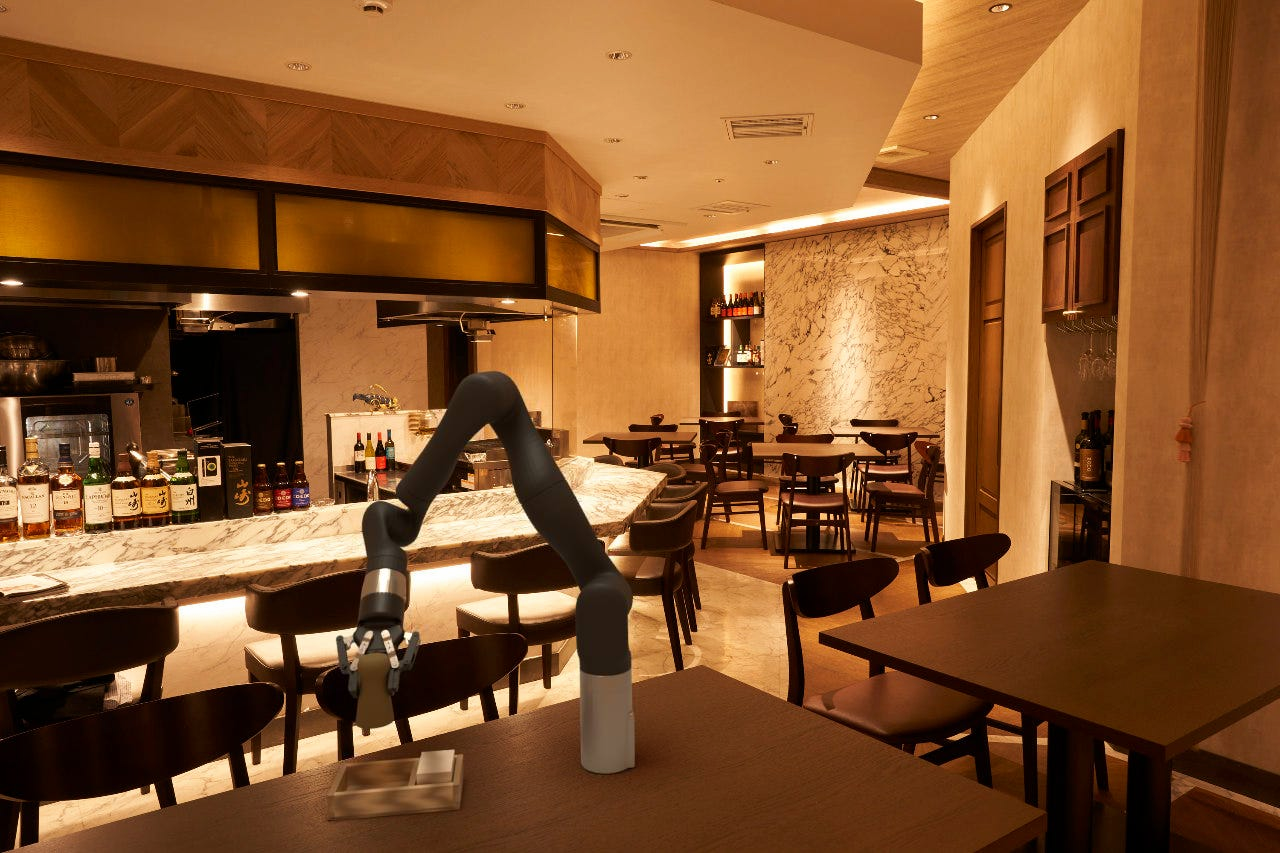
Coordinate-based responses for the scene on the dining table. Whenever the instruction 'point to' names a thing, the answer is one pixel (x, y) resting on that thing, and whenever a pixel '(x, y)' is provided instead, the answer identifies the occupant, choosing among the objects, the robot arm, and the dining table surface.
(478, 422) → the robot arm
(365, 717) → the olive pawn
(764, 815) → the dining table surface
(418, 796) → the caddy
